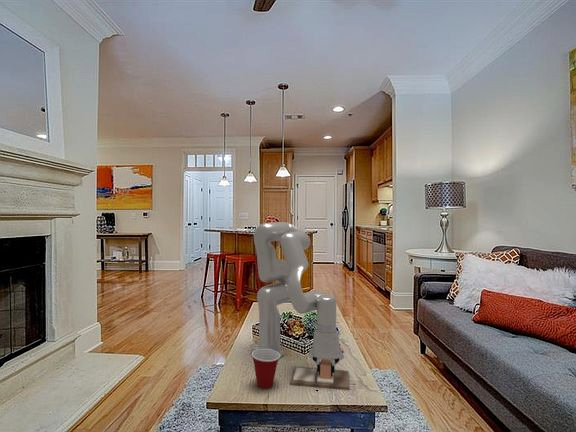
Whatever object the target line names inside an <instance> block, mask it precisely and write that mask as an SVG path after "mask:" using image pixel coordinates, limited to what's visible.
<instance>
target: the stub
mask: <svg viewBox="0 0 576 432" xmlns="http://www.w3.org/2000/svg"><path fill="white" fill-rule="evenodd" d="M320 362H321V364H320V375H319V372H318V378H317V382H320V383H331V384H333V377H334V373H333V376H331V363H332V361H331V359H323V358H320Z"/></svg>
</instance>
